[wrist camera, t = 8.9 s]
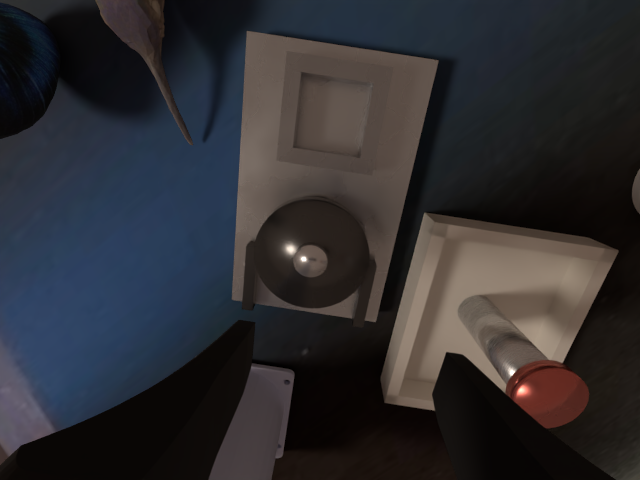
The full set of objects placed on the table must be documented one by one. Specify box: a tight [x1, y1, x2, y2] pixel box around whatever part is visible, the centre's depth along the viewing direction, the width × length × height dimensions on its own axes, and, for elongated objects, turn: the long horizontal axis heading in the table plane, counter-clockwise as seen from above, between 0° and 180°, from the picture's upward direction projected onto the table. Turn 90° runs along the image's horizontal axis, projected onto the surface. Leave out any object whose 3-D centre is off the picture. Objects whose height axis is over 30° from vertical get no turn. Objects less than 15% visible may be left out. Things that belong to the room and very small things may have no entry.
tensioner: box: [232, 31, 439, 328], centre depth 19 cm, size 16×10×3 cm, turn 172°
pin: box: [458, 295, 589, 428], centre depth 18 cm, size 3×3×8 cm
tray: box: [380, 213, 619, 411], centre depth 21 cm, size 14×11×2 cm
